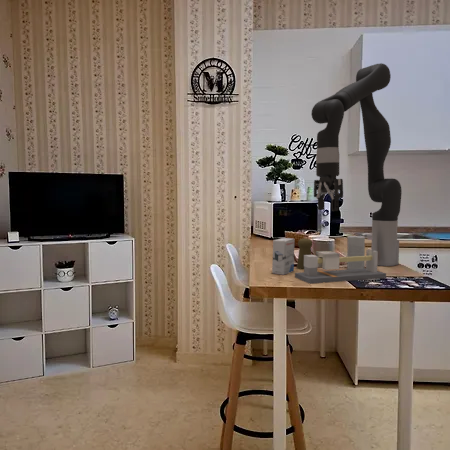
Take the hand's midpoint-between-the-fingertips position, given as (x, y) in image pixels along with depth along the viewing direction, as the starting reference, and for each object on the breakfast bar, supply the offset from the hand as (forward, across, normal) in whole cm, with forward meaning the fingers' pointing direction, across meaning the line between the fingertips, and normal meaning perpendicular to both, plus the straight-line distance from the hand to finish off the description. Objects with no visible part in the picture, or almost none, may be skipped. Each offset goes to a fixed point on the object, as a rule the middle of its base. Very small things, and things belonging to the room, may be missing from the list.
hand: (327, 210), depth 139 cm
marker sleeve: (+18, -5, +4) cm, 19 cm away
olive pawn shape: (+22, +14, +1) cm, 26 cm away
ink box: (+22, +9, +12) cm, 27 cm away
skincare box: (+23, +6, -15) cm, 28 cm away
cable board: (+22, -6, -1) cm, 23 cm away
